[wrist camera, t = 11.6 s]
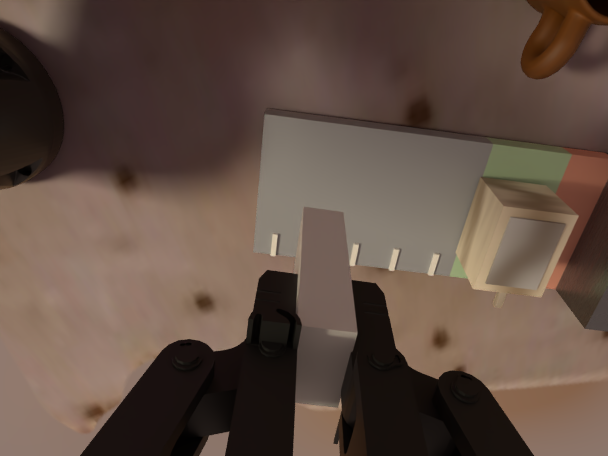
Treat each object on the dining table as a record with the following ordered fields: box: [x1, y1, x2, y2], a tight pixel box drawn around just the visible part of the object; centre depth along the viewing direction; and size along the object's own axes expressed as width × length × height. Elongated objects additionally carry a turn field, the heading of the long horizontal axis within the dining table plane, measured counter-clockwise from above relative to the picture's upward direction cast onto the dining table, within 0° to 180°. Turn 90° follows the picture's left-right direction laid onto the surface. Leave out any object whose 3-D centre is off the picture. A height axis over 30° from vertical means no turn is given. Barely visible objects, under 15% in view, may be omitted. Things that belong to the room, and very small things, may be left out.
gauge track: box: [253, 108, 608, 289], centre depth 44 cm, size 31×14×2 cm, turn 83°
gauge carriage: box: [456, 177, 579, 308], centre depth 41 cm, size 6×10×6 cm, turn 173°
